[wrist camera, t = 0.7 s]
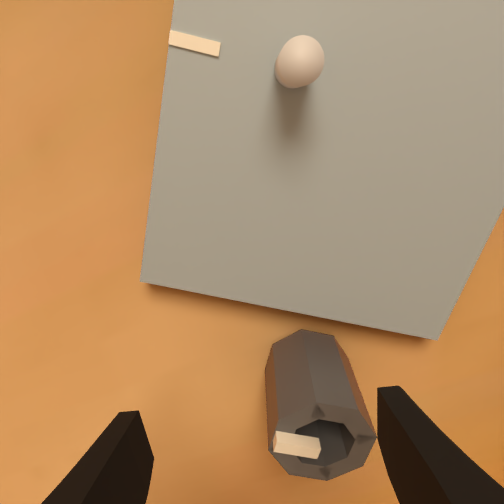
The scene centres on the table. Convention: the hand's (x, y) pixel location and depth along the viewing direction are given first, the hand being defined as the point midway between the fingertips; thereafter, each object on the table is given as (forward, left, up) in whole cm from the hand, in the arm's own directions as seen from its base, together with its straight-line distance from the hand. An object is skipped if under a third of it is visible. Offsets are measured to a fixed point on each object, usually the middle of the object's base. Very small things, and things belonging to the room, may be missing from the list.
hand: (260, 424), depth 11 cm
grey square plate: (-2, -8, -10) cm, 13 cm away
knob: (-4, +5, -10) cm, 11 cm away
